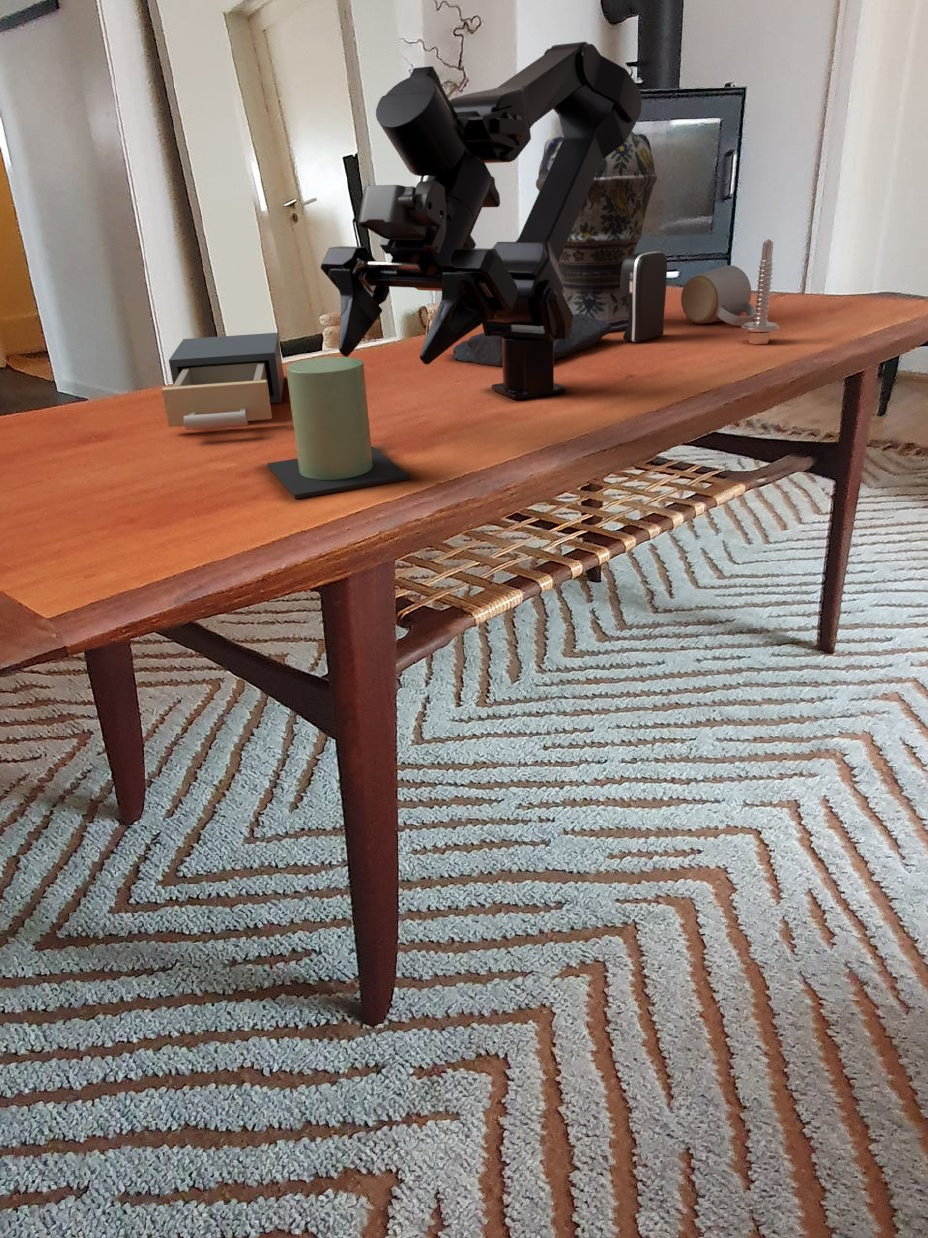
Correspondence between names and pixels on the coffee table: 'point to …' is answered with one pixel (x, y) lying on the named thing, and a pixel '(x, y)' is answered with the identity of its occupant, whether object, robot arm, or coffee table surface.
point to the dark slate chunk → (580, 337)
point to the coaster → (308, 487)
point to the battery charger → (644, 294)
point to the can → (330, 417)
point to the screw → (762, 300)
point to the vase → (605, 229)
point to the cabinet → (233, 356)
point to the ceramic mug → (718, 297)
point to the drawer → (218, 396)
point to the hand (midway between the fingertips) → (382, 357)
